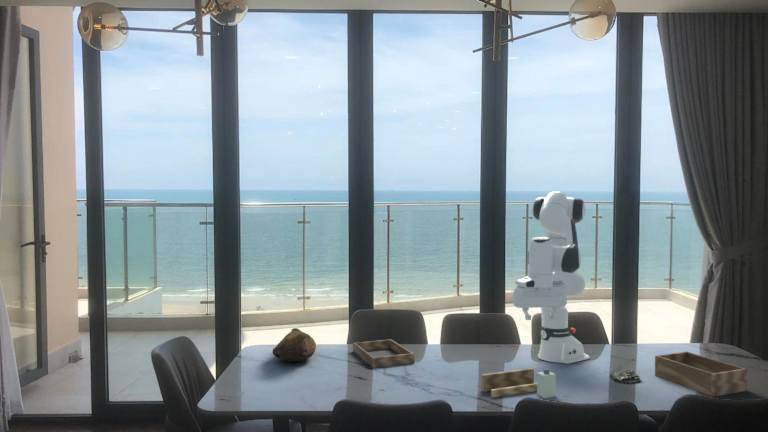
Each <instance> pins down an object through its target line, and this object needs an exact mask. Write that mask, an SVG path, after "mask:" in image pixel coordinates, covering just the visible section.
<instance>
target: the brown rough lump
mask: <svg viewBox="0 0 768 432" xmlns="http://www.w3.org/2000/svg"><path fill="white" fill-rule="evenodd" d="M316 350H317V345H316V341H315V340H314V338H313V337H312V336H310V334H309V333H306V332H304V331H302V330H301V329H299V328H297V327H294V328H292V329H291V331H290V332H289V333H287V334H286V335H284V337H283V338H282V339H281V340H280V341H279V342H278V343H277V345H276V346H275V347H273V349H272V355H273V356H274V357H275V358H277V359H283V361H285V362H287V363H288V362H289V363H290V362H292V363H294V362H300V361H305V360H308V359H310V358H311V357H312V356H313V355H314V353H315V351H316Z"/></svg>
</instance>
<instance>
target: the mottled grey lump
mask: <svg viewBox="0 0 768 432" xmlns="http://www.w3.org/2000/svg"><path fill="white" fill-rule="evenodd" d="M609 378H610V380H611V381H613V382H614V383H619V384H623V385H634V384H638V383H639V384H640V382H641V378H640V375H638V373H636V372H635V370H633V369H631V370H630V369H625V370H624V371H623V372H622V371H616V372H615V371H614V372H612V371H611V373H609Z"/></svg>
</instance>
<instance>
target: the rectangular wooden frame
mask: <svg viewBox="0 0 768 432" xmlns="http://www.w3.org/2000/svg"><path fill="white" fill-rule="evenodd" d="M385 349H386V350H388V349H390V350H392V351H394V352H395V353H397V354H393V355H385V356H384V355H383V356H373V355H372V354H371V353H369V351H378V350H379V351H380V350H385ZM352 352H353V353H354V354H355V355H356V356H358V357H359V358H360V359H362V360H363V361H364V362H366V363H367V364H368V365H369V366H371V367H372V368H381V367H391V366H399V365H406V364H407V365H408V364H415V353H414V352H413V351H411V350H409V349H408V348H406V347H404V346H403V345H401V344H400V343H398V342H397V341H395V340H393V339H392V338H391V339H390V338H389V339H381V340H380V339H379V340H371V341H370V340H369V341H362V342H361V341H360V342H353V343H352Z"/></svg>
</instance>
